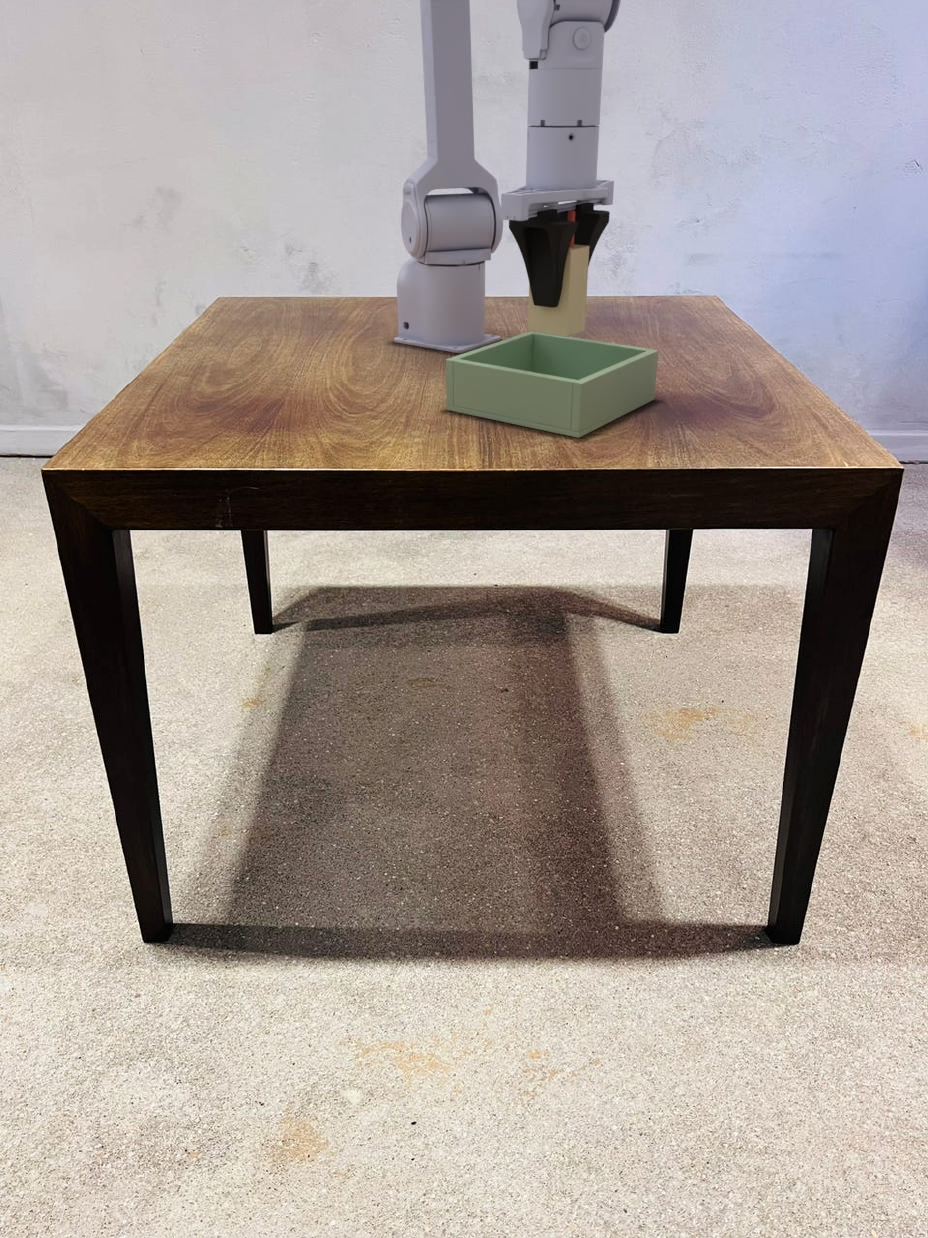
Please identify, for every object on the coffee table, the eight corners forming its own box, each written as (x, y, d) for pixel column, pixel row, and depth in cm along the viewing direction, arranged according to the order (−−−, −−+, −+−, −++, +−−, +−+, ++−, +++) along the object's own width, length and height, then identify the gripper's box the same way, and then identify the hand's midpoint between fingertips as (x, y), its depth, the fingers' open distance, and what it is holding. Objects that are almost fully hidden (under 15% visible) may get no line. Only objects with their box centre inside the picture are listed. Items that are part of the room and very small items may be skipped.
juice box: (527, 330, 86) (531, 210, 81) (546, 324, 88) (550, 206, 83) (567, 336, 83) (572, 213, 79) (585, 330, 86) (591, 209, 81)
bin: (446, 409, 87) (445, 359, 85) (529, 376, 97) (530, 330, 95) (578, 438, 80) (581, 383, 78) (654, 399, 90) (658, 349, 88)
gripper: (558, 130, 71) (551, 322, 77) (650, 123, 81) (637, 294, 88) (479, 128, 74) (478, 312, 81) (576, 122, 85) (569, 286, 91)
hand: (556, 302), depth 84 cm, fingers closed on juice box, 3 cm apart
